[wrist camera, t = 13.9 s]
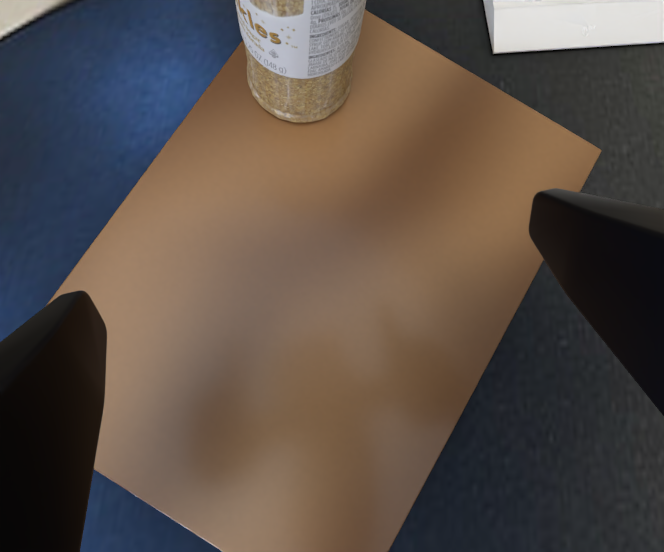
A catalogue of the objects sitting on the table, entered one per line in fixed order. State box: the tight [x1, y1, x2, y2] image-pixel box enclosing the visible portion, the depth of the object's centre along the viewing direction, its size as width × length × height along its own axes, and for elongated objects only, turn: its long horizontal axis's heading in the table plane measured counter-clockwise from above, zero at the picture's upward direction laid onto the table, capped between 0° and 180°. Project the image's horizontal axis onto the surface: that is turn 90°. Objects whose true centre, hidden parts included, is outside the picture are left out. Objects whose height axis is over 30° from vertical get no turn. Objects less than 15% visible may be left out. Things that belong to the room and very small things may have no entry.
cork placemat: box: [46, 9, 601, 552], centre depth 19 cm, size 16×22×1 cm
